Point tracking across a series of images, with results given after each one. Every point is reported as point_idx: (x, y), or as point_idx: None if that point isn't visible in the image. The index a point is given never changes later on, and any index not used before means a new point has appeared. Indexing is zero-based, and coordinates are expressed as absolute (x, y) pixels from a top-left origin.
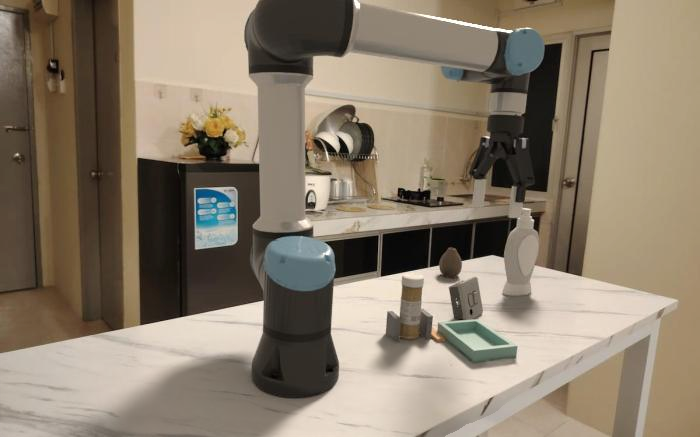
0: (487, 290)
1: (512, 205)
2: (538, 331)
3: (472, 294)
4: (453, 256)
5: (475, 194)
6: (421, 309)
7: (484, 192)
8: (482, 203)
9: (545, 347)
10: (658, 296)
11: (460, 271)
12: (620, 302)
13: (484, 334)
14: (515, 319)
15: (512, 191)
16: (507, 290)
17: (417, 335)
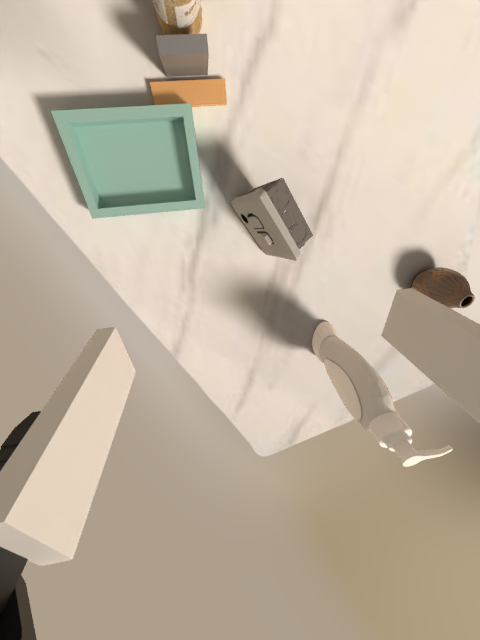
0: (344, 307)
1: (69, 377)
2: (195, 299)
3: (265, 231)
4: (445, 294)
5: (456, 329)
6: (203, 43)
7: (440, 384)
8: (395, 340)
9: (142, 280)
10: (273, 453)
11: None
12: (266, 421)
13: (169, 201)
14: (237, 290)
15: (20, 466)
16: (322, 327)
17: (162, 29)
